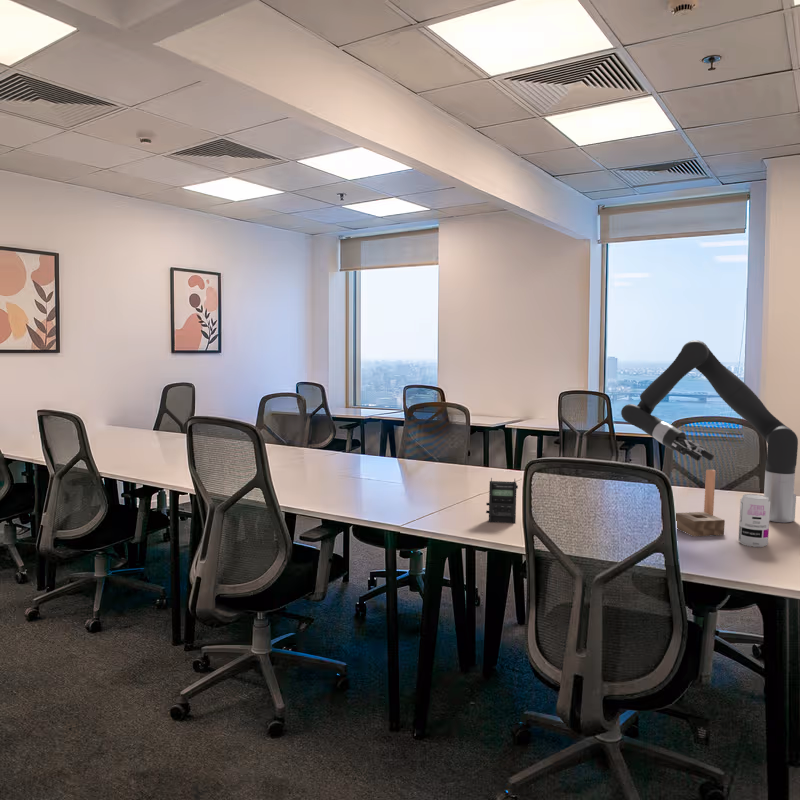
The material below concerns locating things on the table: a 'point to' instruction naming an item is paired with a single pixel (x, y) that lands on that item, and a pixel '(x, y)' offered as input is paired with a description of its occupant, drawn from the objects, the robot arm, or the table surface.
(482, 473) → the table surface
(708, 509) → the peg
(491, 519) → the geiger counter
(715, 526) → the socket block
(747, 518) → the supplement can
